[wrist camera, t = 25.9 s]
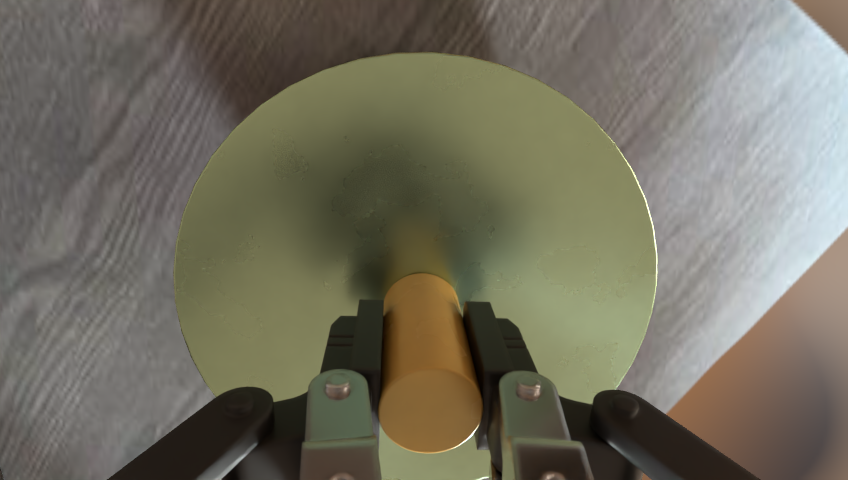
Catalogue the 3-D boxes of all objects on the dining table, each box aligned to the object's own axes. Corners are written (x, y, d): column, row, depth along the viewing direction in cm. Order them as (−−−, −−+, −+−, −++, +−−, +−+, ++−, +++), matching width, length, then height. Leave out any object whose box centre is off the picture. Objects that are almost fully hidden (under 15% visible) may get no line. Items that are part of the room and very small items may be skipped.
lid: (211, 467, 19) (134, 642, 14) (155, 38, 14) (-10, 32, 8) (601, 466, 20) (681, 629, 15) (688, 64, 15) (866, 74, 9)
